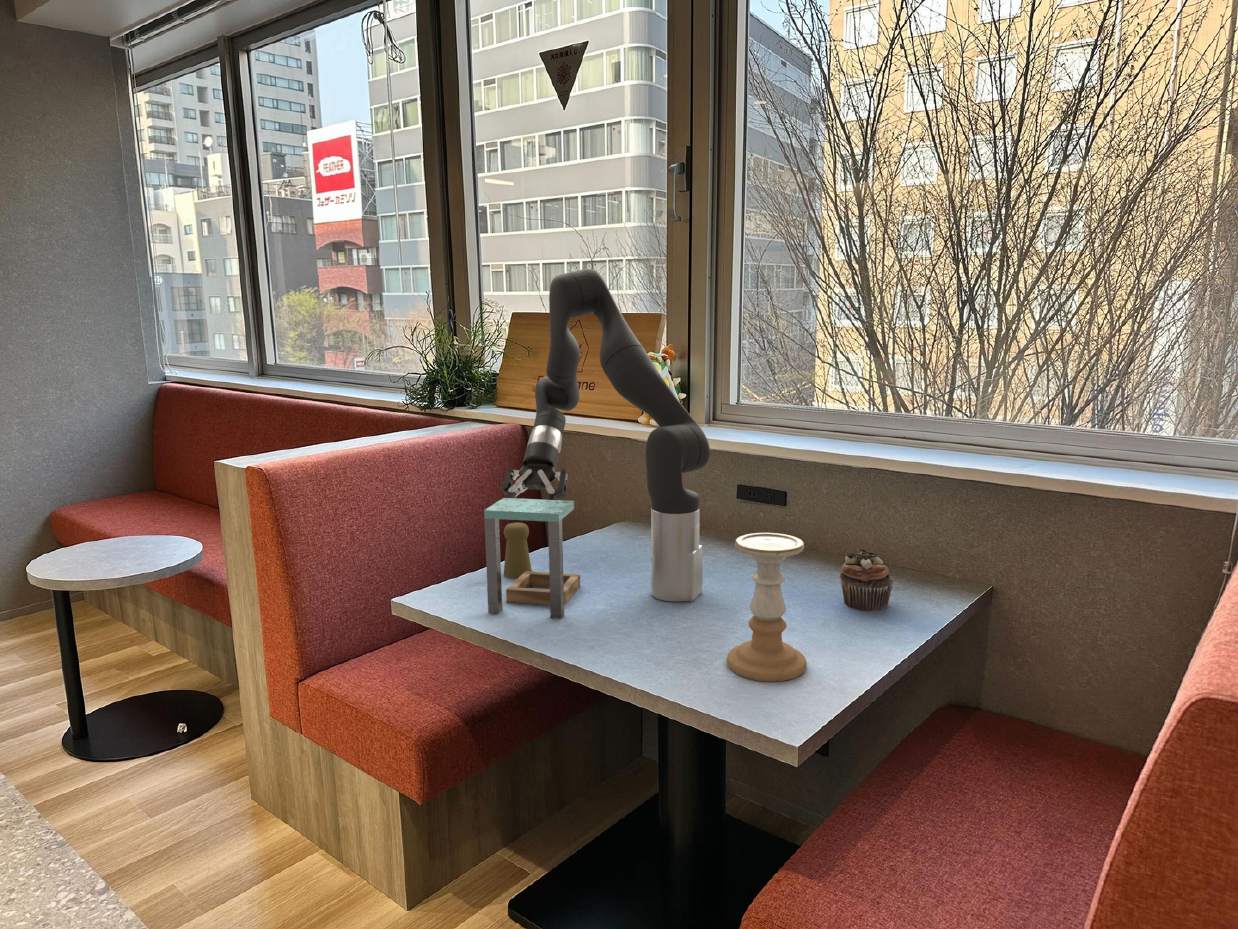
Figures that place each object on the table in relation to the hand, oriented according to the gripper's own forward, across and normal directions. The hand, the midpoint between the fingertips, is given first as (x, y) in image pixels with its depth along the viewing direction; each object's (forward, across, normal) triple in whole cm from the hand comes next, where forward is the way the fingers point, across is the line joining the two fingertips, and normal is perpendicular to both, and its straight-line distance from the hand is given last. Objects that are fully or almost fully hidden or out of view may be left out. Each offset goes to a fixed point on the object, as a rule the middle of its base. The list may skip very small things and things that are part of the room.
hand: (528, 510), depth 185 cm
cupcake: (+17, +70, 0) cm, 72 cm away
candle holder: (+39, +54, -22) cm, 70 cm away
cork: (+14, 0, +3) cm, 14 cm away
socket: (+22, +9, -5) cm, 24 cm away
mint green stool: (+27, +9, -10) cm, 30 cm away
